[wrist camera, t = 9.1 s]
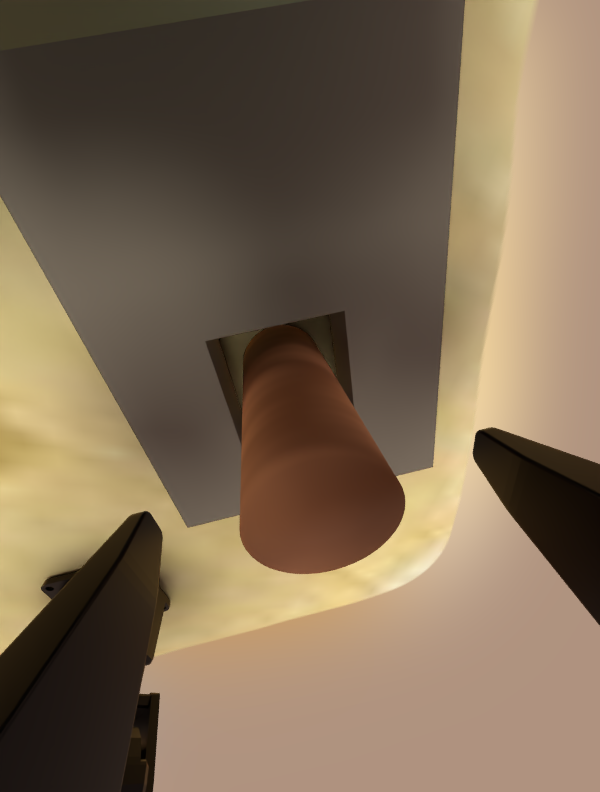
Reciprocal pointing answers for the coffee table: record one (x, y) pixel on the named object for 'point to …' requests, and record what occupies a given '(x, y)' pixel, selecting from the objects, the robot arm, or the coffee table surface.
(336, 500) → the peg
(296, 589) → the coffee table surface
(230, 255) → the socket deck
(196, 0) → the awning
